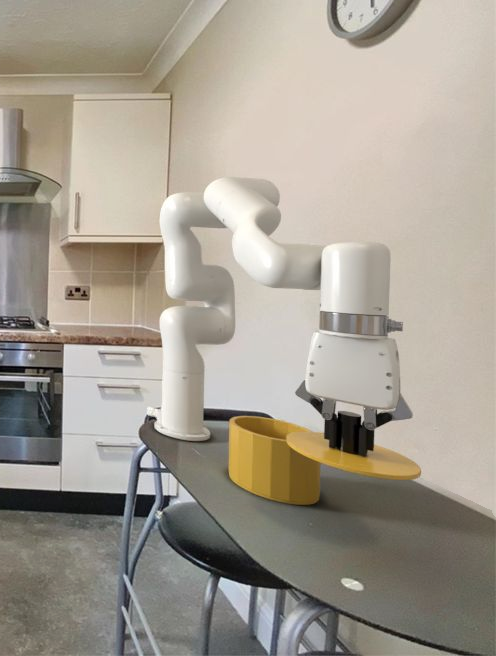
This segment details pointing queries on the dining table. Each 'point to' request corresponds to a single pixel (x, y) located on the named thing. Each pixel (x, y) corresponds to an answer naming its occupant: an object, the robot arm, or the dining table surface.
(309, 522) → the dining table surface
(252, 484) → the tin
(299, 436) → the lid
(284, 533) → the dining table surface
